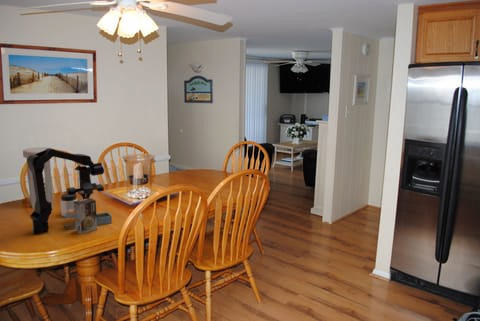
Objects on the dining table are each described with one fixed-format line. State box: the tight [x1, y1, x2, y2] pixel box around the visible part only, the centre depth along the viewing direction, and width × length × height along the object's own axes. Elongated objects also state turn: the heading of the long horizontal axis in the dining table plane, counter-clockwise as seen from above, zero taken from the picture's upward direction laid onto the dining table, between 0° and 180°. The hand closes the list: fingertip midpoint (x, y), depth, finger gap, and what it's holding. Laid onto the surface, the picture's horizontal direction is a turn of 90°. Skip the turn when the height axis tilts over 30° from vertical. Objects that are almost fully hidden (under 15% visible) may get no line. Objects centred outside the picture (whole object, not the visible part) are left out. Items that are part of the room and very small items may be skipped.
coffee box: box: [74, 197, 98, 235], centre depth 199 cm, size 9×6×16 cm
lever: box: [65, 213, 75, 220], centre depth 208 cm, size 14×13×2 cm
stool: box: [22, 147, 54, 209], centre depth 237 cm, size 16×16×35 cm
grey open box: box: [96, 211, 113, 227], centre depth 212 cm, size 8×8×4 cm
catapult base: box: [63, 223, 76, 231], centre depth 205 cm, size 15×6×6 cm, turn 124°
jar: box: [60, 192, 78, 218], centre depth 222 cm, size 9×8×12 cm
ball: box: [67, 209, 74, 215], centre depth 202 cm, size 3×3×3 cm
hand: (86, 204), depth 214 cm, fingers closed
